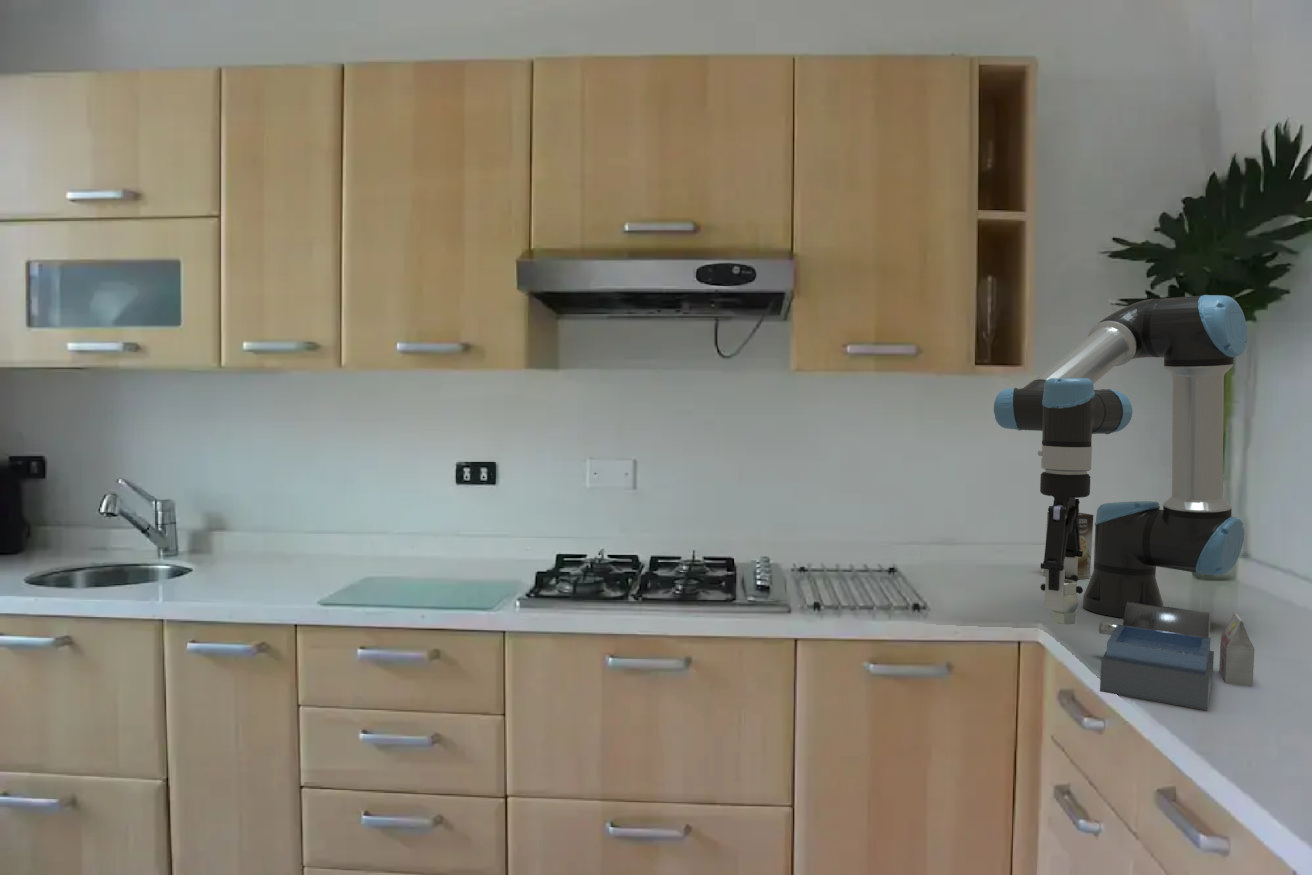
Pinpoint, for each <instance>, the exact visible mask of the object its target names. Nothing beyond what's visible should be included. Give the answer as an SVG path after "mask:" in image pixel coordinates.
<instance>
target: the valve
mask: <svg viewBox="0 0 1312 875" xmlns="http://www.w3.org/2000/svg"><path fill="white" fill-rule="evenodd" d="M1063 570H1064V569H1063ZM1065 574H1066V573H1065ZM1078 580H1079V579H1078V577H1077V575H1071V577H1067V576H1065V581H1064V597H1063V611H1057V610H1051V611H1052V612H1051V621H1052V622H1053V623H1056V624H1058V625H1059V624H1060V625H1075V624H1076V611H1077V609H1078V607H1079V598H1078V595H1076V593H1077V594H1082V593H1083V592H1084V591H1083V590H1084V589H1083V587H1082V586H1081V585H1077V586H1076V582H1075V581H1077V582H1078ZM1039 587H1040V590H1041V591H1042V592H1045V583H1041V584H1040V586H1039Z"/></svg>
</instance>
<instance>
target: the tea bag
mask: <svg viewBox="0 0 1312 875" xmlns="http://www.w3.org/2000/svg"><path fill="white" fill-rule="evenodd" d="M1219 649H1220V650H1219V665H1218V666H1219V669H1218V672H1219V674H1220V676H1221V678H1222V679H1223V682H1224V684H1232V685H1241V686H1247V687H1253V686H1254V684H1253V683H1254V667H1255V666H1254V663H1255V647H1254V645H1253V643H1252V641H1251V639H1250V637H1249V635H1248V634H1247V631H1246V628H1245V625H1244V621H1243V619H1241V617H1240V616H1239V614H1238V613H1237V612H1236V613H1235V612H1233V614H1232V617H1231V619H1230V622H1229V623H1228V625H1227V626H1226V628H1225V629H1224V631H1223V632H1222V633H1221V635H1220V647H1219Z"/></svg>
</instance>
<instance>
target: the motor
mask: <svg viewBox="0 0 1312 875" xmlns="http://www.w3.org/2000/svg"><path fill="white" fill-rule="evenodd" d="M1098 627H1099V628H1098V634H1100V635H1107V636H1110V637H1109V638H1108V640H1107V642H1106V651H1105V653H1104V654H1103V656H1102V657H1101V659H1100V662H1101V663H1100V677H1099V678H1100V680H1099V681H1100V682H1099V692H1102V693H1106V694H1113V695H1118V696H1124V697H1129V698H1135V699H1138V700H1139V699H1140V700H1146V701H1152V702H1156V703H1157V702H1158V703H1162V704H1167V705H1168V704H1169V705H1174V706H1179V707H1185V708H1188V709H1195V710H1200V711H1201V710H1202V711H1208V708H1209V702H1210V696H1211V693H1212V692H1211V691H1212V686H1213V675H1214V659H1215V657H1214V656H1215V651H1213V650H1211V640H1212V639H1211V637H1210V635H1211V612H1209V611H1200V610H1192V609H1185V608H1176V607H1171V606H1164V607H1163V606H1155V605H1148V604H1140V603H1132V602H1127V604H1126V608H1125V614H1124V618H1123V623H1122V624H1118V623H1111V622H1104V621H1099V626H1098Z"/></svg>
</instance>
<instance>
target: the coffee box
mask: <svg viewBox="0 0 1312 875" xmlns="http://www.w3.org/2000/svg"><path fill="white" fill-rule="evenodd" d="M1048 513H1049V511H1047V517H1046V531H1045V532H1046V533H1045V536H1047V527H1048ZM1094 516H1095V515H1094V514H1090V513H1085V512H1079V535H1080V551H1083V556H1082V557H1075V558H1078V567H1077V577H1078V580H1087V579H1089V580H1090V579H1091V568H1092V567H1091V565H1092V563H1091V562H1092V548H1093V532H1094V531H1093V530H1094ZM1043 576H1044V577H1046V569H1043Z"/></svg>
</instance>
